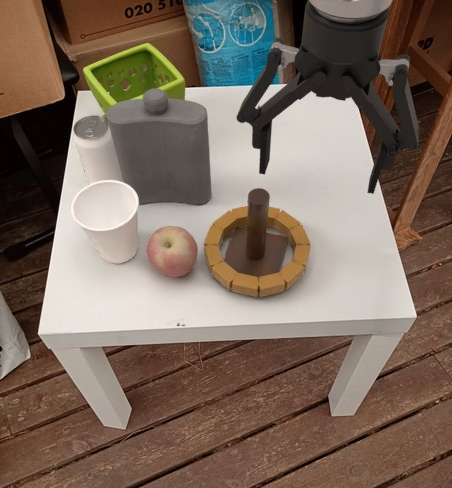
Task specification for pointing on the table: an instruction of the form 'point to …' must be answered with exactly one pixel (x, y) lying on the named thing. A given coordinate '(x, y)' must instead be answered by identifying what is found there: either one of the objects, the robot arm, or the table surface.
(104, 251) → the cup
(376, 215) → the table surface
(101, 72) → the flower pot
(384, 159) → the robot arm
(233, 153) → the table surface
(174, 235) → the apple
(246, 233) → the peg stand
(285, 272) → the hoop
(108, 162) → the can
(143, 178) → the flask
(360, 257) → the table surface
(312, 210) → the table surface
